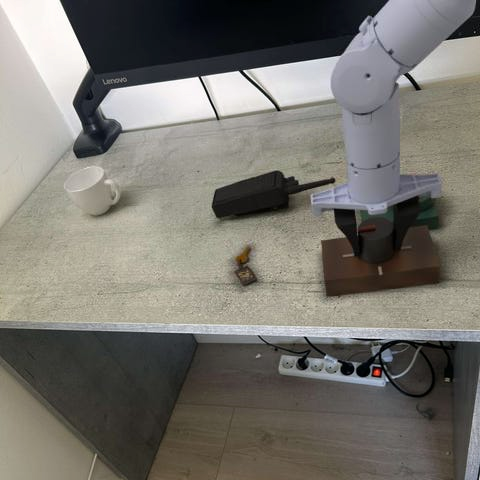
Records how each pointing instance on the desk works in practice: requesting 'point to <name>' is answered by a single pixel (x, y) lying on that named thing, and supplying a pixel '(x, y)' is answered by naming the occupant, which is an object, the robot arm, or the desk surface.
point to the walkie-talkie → (259, 194)
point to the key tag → (244, 269)
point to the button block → (425, 217)
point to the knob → (376, 239)
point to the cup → (92, 190)
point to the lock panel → (380, 265)
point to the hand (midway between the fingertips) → (376, 248)
